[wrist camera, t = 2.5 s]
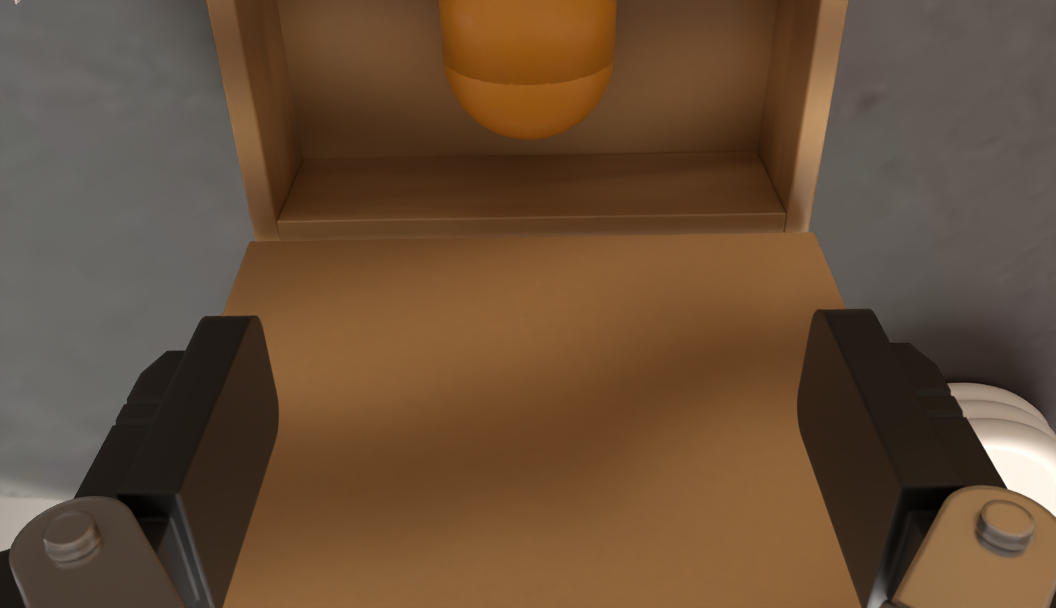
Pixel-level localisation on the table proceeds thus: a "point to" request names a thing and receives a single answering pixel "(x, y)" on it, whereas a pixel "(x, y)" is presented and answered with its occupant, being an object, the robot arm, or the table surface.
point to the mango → (528, 61)
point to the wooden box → (527, 165)
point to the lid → (539, 424)
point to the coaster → (1012, 439)
